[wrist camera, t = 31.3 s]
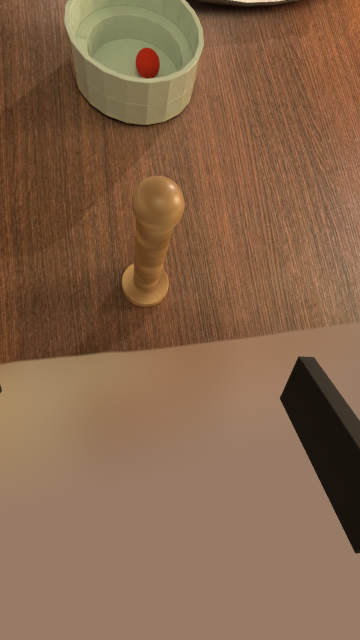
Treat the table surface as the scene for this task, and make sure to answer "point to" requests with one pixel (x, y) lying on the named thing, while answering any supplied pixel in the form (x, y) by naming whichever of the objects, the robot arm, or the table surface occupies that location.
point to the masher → (152, 239)
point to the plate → (249, 2)
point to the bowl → (134, 55)
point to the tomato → (147, 63)
